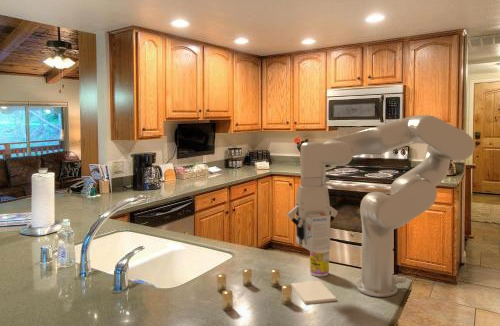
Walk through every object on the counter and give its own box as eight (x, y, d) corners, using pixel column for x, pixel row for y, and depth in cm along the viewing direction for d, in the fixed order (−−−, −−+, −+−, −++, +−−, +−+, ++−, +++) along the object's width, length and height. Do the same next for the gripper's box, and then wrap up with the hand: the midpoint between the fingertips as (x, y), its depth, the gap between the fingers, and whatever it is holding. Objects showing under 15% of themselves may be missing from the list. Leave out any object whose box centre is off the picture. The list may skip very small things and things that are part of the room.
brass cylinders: (276, 280, 139) (276, 266, 139) (293, 304, 121) (293, 288, 120) (215, 285, 135) (215, 271, 135) (223, 311, 117) (222, 294, 116)
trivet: (319, 282, 136) (319, 280, 136) (336, 300, 123) (336, 298, 123) (291, 285, 135) (291, 283, 134) (304, 303, 121) (304, 301, 121)
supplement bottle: (306, 273, 146) (306, 238, 144) (319, 269, 149) (319, 235, 148) (319, 278, 140) (319, 242, 139) (332, 274, 144) (333, 239, 143)
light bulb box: (295, 242, 131) (295, 210, 130) (313, 240, 133) (313, 208, 132) (311, 252, 121) (311, 217, 120) (331, 249, 123) (331, 215, 122)
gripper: (334, 179, 130) (334, 232, 132) (282, 181, 127) (282, 236, 129) (344, 182, 123) (343, 239, 125) (289, 184, 120) (289, 243, 122)
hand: (312, 237), depth 127 cm, fingers closed on light bulb box, 7 cm apart
